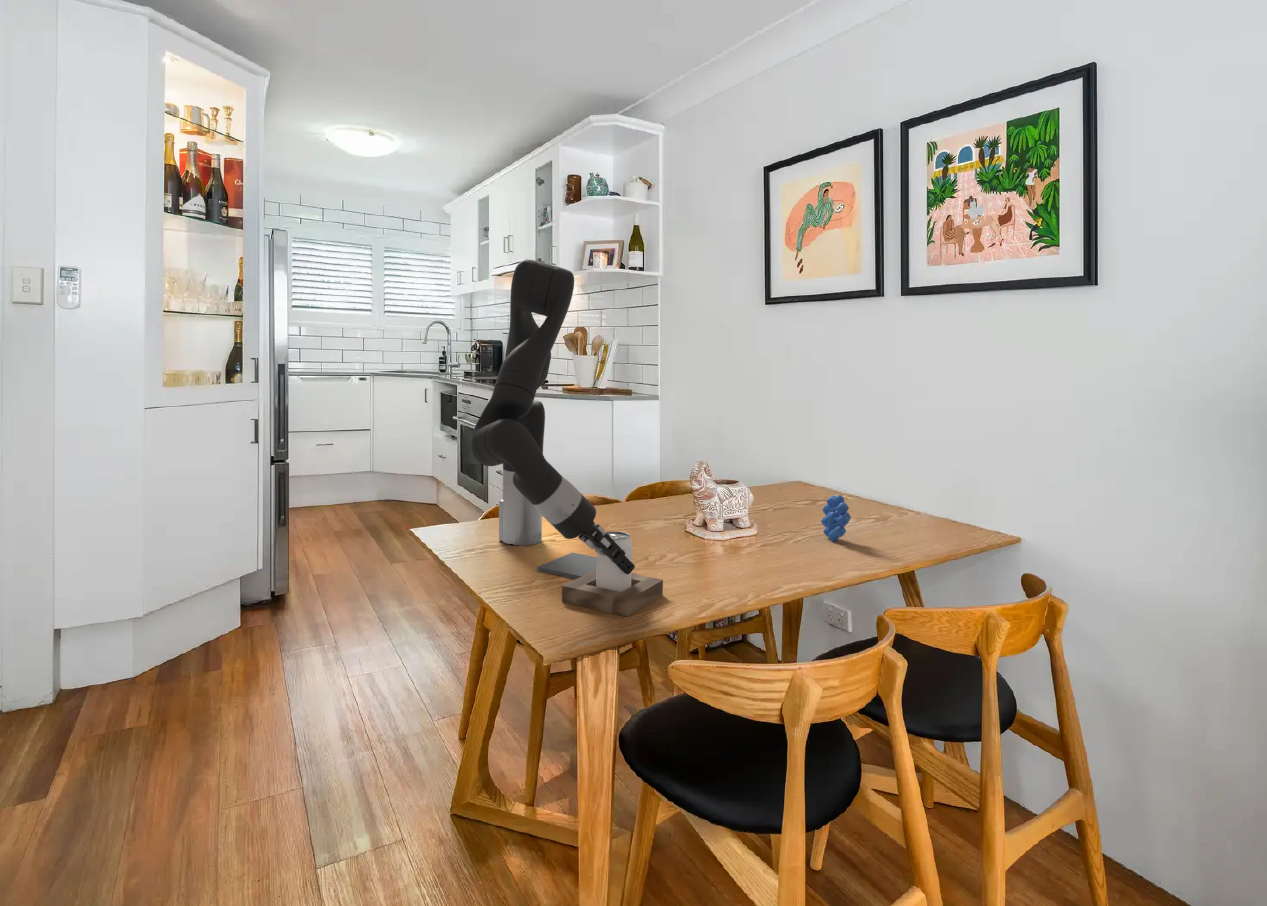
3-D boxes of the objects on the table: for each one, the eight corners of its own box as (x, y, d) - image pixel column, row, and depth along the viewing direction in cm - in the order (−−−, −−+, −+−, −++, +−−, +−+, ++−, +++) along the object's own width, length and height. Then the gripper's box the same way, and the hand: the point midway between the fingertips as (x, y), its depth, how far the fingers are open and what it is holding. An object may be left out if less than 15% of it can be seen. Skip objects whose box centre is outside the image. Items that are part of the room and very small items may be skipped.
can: (609, 590, 139) (611, 529, 137) (637, 597, 135) (639, 534, 133) (588, 598, 133) (590, 535, 132) (617, 606, 130) (619, 541, 128)
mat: (536, 570, 149) (536, 566, 149) (571, 555, 160) (572, 552, 160) (590, 582, 143) (590, 578, 143) (622, 566, 154) (623, 562, 154)
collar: (561, 601, 131) (562, 585, 131) (601, 581, 143) (601, 567, 143) (627, 616, 125) (627, 600, 125) (662, 594, 137) (663, 579, 136)
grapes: (860, 547, 176) (864, 498, 175) (834, 547, 175) (838, 498, 173) (839, 534, 188) (842, 489, 186) (814, 535, 186) (817, 489, 185)
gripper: (594, 498, 121) (654, 561, 128) (564, 483, 134) (620, 541, 141) (563, 532, 120) (626, 593, 127) (536, 513, 133) (595, 570, 139)
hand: (623, 565), depth 134 cm, fingers closed on can, 5 cm apart
